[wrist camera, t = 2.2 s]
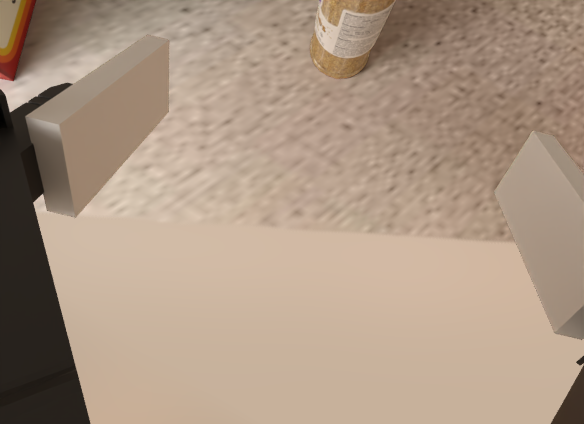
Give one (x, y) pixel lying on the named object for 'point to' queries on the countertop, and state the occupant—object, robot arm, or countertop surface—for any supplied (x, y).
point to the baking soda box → (13, 33)
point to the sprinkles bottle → (347, 34)
